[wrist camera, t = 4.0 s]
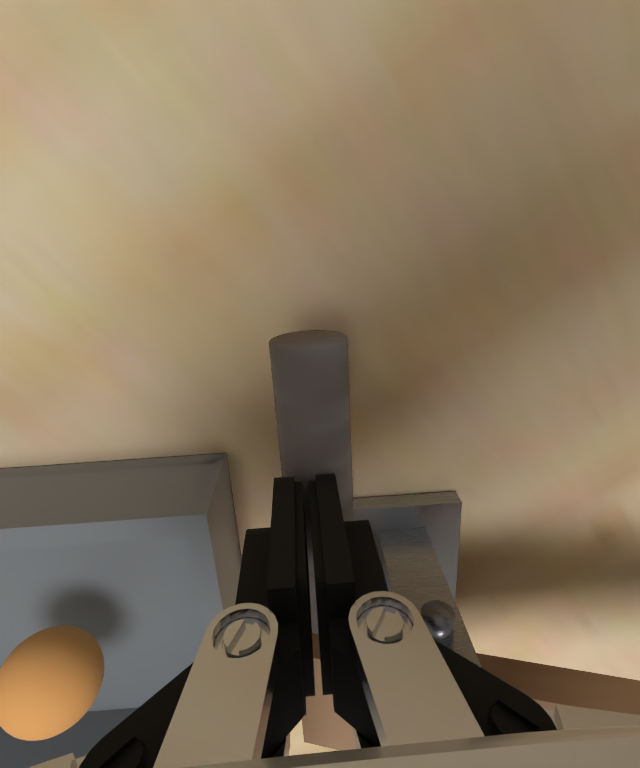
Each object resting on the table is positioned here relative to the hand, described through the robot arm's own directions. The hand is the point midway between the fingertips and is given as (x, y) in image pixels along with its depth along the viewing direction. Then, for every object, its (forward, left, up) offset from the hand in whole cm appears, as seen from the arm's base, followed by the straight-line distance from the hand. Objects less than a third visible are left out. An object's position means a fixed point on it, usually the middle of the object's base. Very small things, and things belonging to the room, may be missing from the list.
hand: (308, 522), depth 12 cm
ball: (+10, +8, -2) cm, 13 cm away
